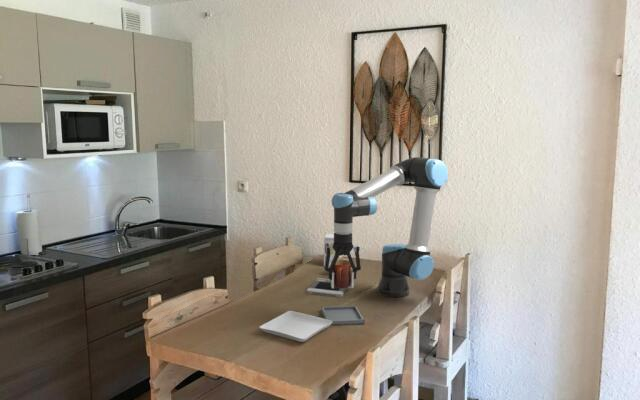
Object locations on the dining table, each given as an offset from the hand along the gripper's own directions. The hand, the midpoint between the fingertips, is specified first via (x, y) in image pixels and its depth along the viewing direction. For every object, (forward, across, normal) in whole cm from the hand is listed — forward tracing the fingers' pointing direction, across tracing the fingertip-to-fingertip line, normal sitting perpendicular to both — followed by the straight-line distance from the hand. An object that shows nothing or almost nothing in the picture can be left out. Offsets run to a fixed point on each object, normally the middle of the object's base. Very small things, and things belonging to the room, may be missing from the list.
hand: (342, 286), depth 225 cm
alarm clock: (+14, 0, -36) cm, 38 cm away
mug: (0, +1, 0) cm, 1 cm away
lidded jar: (+13, -10, -61) cm, 63 cm away
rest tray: (+13, 0, 0) cm, 13 cm away
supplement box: (+13, -9, -81) cm, 82 cm away
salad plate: (+14, +20, +13) cm, 27 cm away
